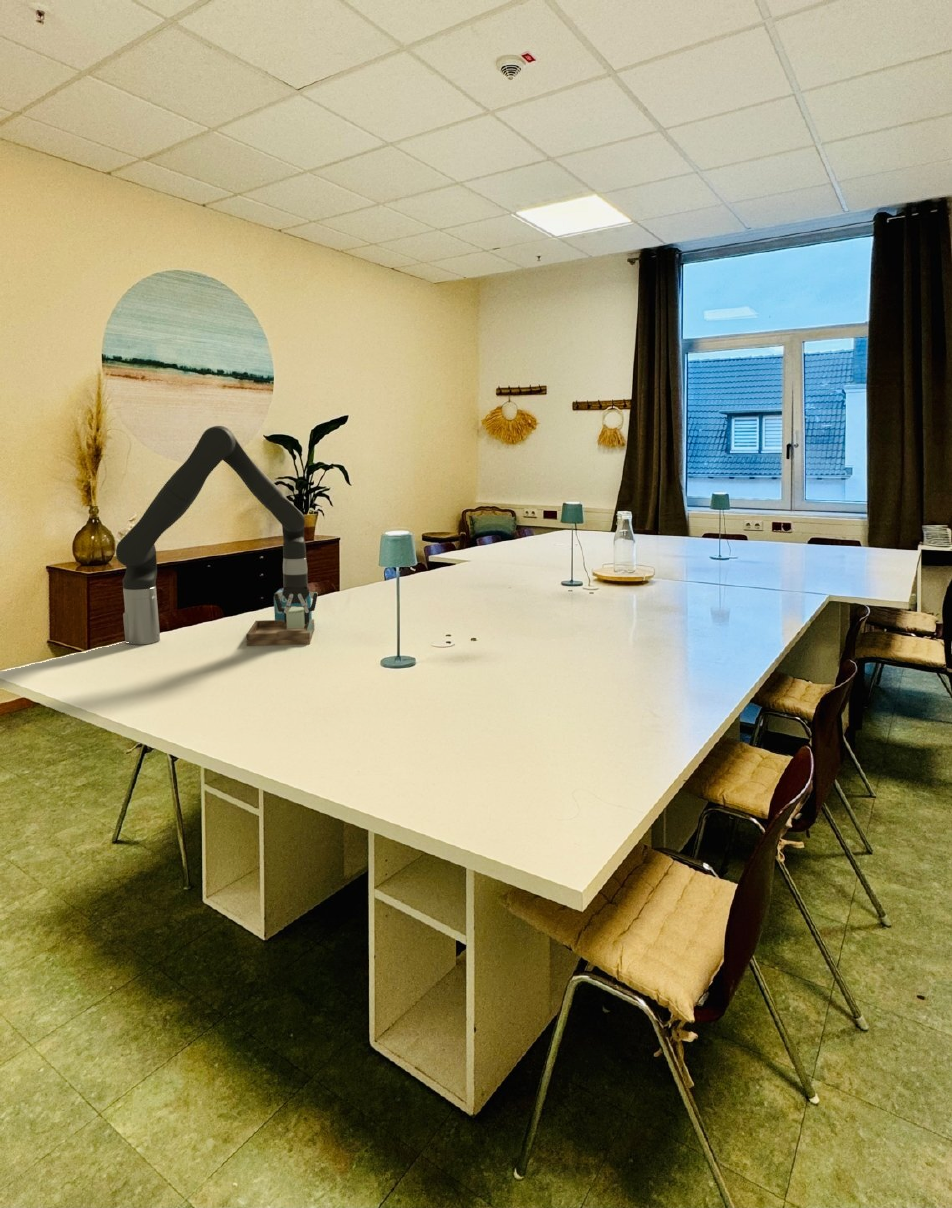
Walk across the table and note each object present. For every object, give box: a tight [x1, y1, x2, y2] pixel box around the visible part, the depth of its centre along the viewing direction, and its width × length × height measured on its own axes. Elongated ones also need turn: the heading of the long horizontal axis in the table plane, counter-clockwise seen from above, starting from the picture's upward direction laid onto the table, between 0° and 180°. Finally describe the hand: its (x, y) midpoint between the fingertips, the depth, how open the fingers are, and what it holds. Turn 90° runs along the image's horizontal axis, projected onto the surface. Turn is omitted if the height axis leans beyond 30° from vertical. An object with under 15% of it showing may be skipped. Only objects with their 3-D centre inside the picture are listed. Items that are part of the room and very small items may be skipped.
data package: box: [273, 589, 313, 620], centre depth 250 cm, size 12×4×12 cm, turn 97°
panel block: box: [286, 607, 306, 629], centre depth 234 cm, size 5×10×5 cm, turn 6°
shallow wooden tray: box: [246, 618, 315, 647], centre depth 234 cm, size 19×20×4 cm
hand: (297, 623), depth 234 cm, fingers closed on panel block, 5 cm apart
